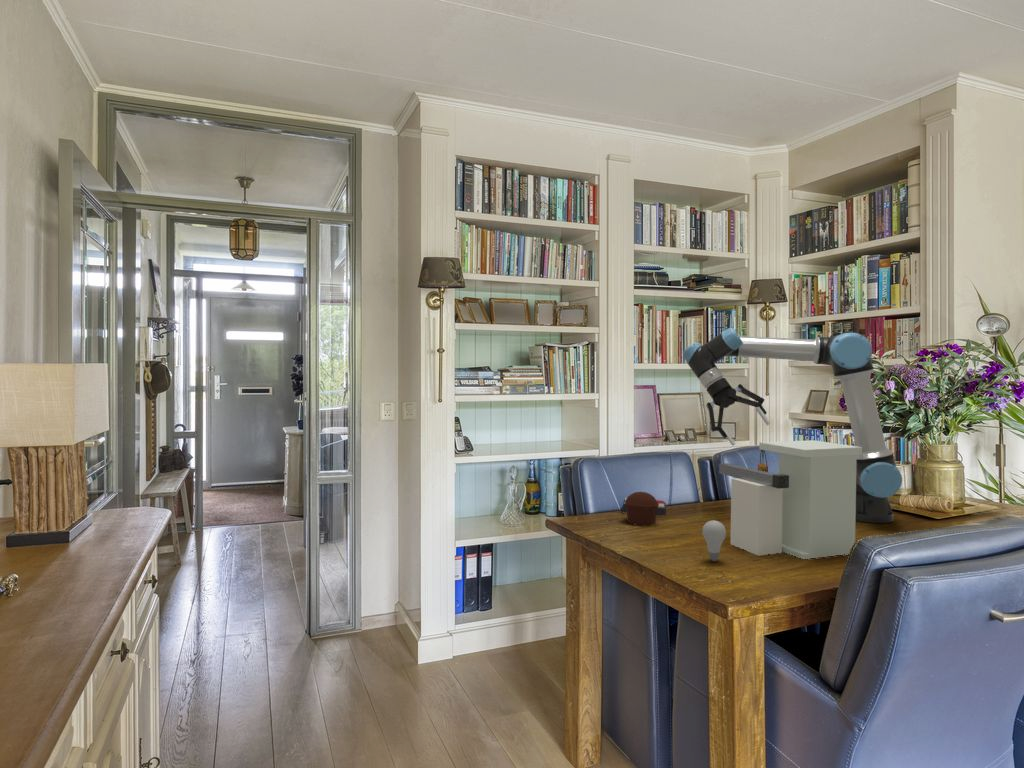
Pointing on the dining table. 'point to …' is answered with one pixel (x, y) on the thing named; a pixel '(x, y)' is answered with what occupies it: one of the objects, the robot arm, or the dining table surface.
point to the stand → (817, 497)
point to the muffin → (641, 508)
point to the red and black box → (660, 510)
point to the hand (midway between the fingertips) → (751, 434)
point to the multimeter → (762, 466)
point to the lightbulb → (714, 538)
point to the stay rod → (755, 475)
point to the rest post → (756, 517)
